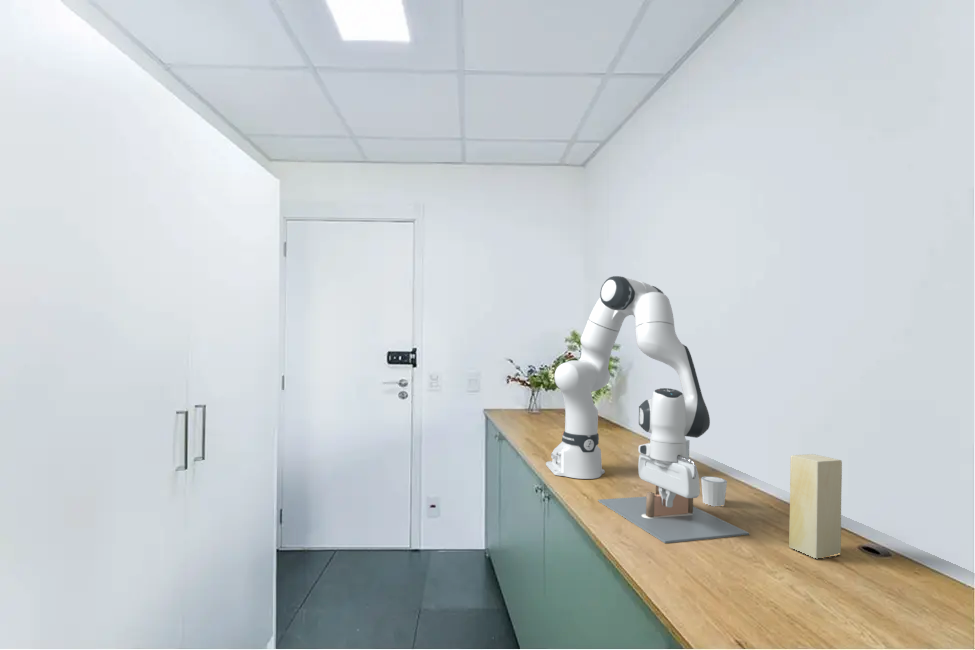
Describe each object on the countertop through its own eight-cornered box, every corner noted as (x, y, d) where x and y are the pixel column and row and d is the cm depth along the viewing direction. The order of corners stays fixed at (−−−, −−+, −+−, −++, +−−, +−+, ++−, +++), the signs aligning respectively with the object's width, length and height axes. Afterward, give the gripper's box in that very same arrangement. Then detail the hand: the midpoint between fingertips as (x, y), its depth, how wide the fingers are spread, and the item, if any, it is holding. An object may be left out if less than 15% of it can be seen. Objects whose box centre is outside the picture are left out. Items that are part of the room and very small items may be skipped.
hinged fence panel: (689, 510, 135) (690, 489, 135) (694, 513, 133) (695, 491, 133) (644, 514, 131) (644, 492, 131) (649, 516, 129) (649, 494, 129)
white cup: (699, 504, 143) (700, 479, 144) (701, 498, 149) (702, 474, 150) (726, 509, 140) (726, 483, 140) (727, 502, 146) (727, 478, 146)
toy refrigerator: (809, 542, 118) (811, 452, 118) (841, 555, 111) (843, 460, 111) (785, 546, 115) (787, 454, 115) (816, 560, 108) (818, 462, 108)
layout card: (597, 501, 143) (598, 499, 143) (669, 496, 150) (669, 494, 150) (664, 543, 114) (665, 540, 114) (749, 534, 121) (749, 532, 121)
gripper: (706, 460, 121) (706, 518, 120) (653, 444, 141) (653, 494, 140) (685, 460, 119) (684, 520, 118) (634, 445, 139) (633, 495, 138)
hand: (667, 506), depth 129 cm, fingers closed
